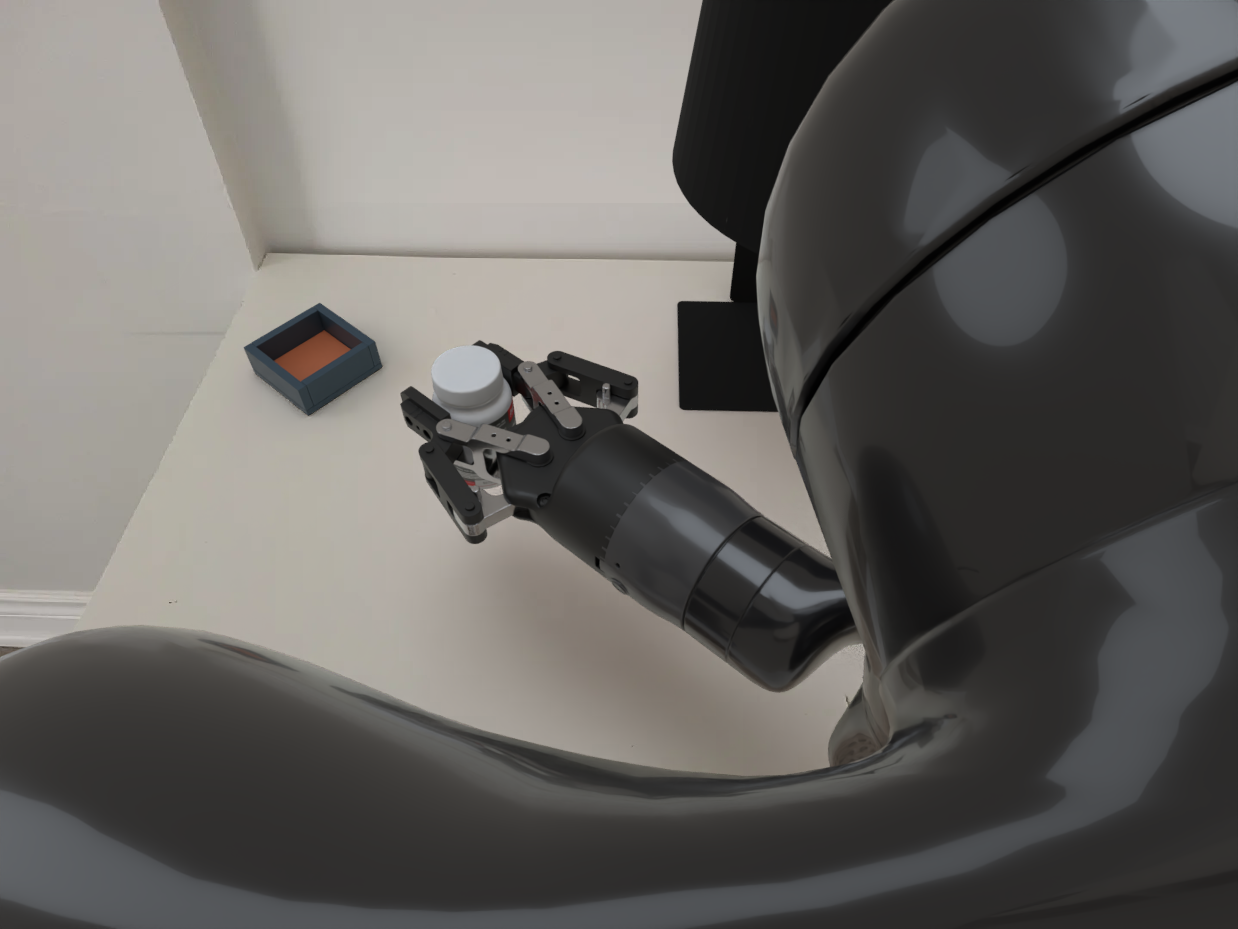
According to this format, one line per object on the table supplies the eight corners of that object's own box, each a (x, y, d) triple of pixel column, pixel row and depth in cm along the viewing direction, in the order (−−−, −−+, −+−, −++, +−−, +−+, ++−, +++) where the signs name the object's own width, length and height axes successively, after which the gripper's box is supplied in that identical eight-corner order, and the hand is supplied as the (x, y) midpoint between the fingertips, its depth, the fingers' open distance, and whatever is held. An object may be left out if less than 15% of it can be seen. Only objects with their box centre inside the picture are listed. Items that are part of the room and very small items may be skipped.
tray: (308, 416, 75) (298, 390, 73) (254, 372, 79) (242, 347, 76) (382, 367, 79) (375, 341, 77) (328, 327, 83) (319, 302, 80)
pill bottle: (533, 473, 56) (522, 378, 50) (465, 503, 54) (444, 408, 48) (502, 427, 59) (487, 330, 52) (436, 453, 57) (412, 357, 51)
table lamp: (923, 296, 85) (1090, -211, 55) (994, 532, 67) (1303, -30, 37) (660, 292, 86) (681, -212, 55) (660, 524, 68) (691, -35, 37)
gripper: (745, 401, 46) (520, 270, 54) (556, 572, 39) (327, 394, 47) (733, 491, 52) (530, 361, 59) (565, 653, 45) (360, 484, 53)
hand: (442, 377), depth 53 cm, fingers closed on pill bottle, 4 cm apart
